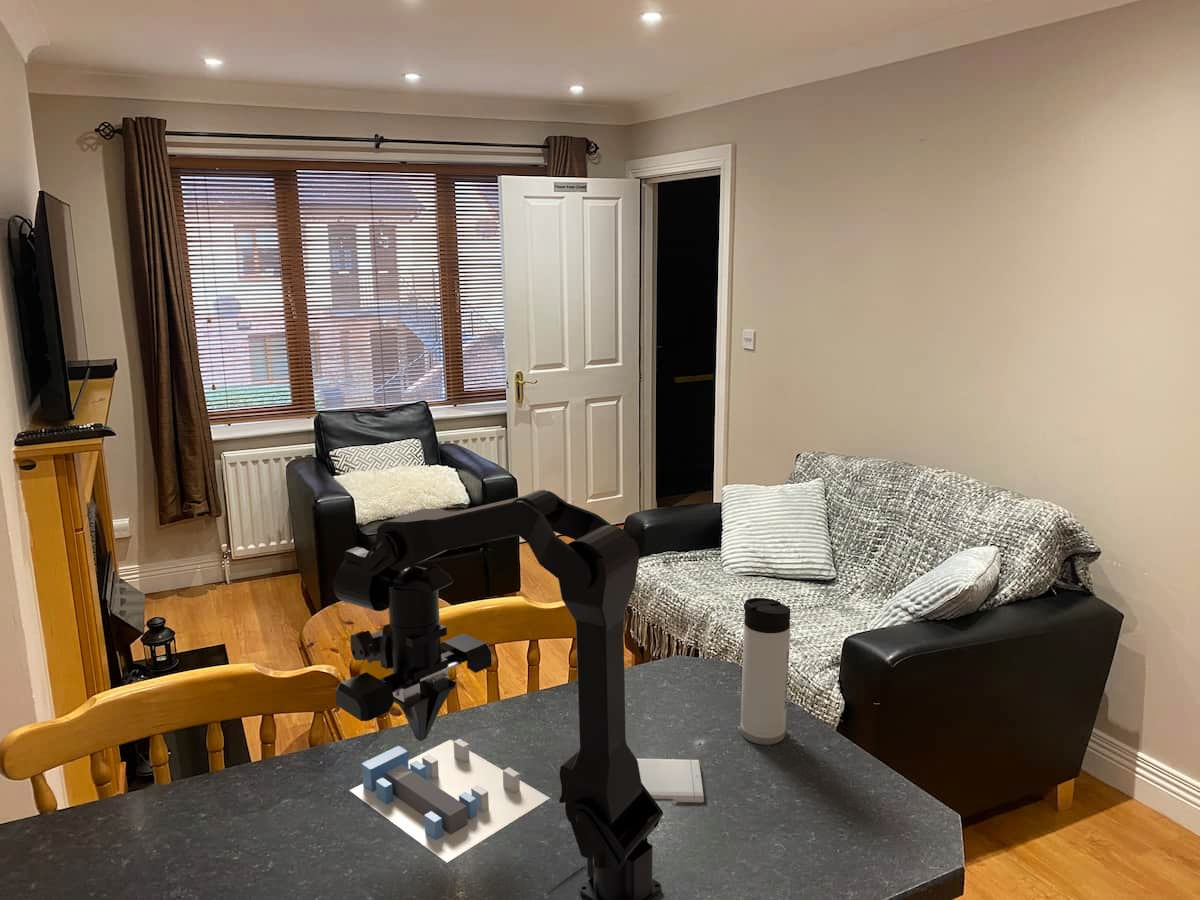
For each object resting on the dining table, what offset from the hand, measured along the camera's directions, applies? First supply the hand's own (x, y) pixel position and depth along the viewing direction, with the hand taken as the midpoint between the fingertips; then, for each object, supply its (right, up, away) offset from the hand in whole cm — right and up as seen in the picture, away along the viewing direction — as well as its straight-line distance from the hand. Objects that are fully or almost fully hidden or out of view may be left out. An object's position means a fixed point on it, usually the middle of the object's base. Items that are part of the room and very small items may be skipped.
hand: (420, 738), depth 106 cm
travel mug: (+44, -6, +19) cm, 49 cm away
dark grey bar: (0, -9, +2) cm, 9 cm away
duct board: (+3, -9, +5) cm, 10 cm away
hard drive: (+28, -9, +8) cm, 31 cm away
